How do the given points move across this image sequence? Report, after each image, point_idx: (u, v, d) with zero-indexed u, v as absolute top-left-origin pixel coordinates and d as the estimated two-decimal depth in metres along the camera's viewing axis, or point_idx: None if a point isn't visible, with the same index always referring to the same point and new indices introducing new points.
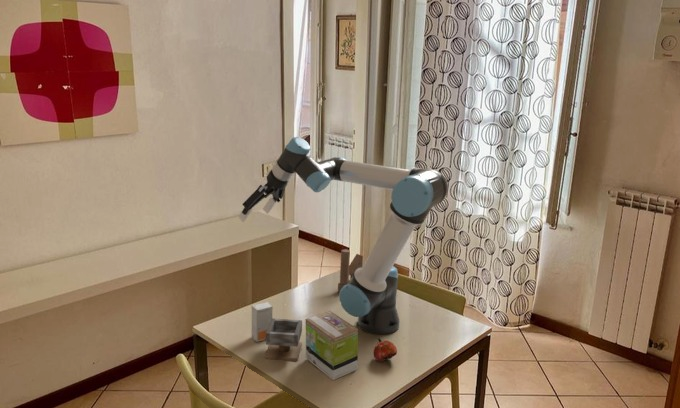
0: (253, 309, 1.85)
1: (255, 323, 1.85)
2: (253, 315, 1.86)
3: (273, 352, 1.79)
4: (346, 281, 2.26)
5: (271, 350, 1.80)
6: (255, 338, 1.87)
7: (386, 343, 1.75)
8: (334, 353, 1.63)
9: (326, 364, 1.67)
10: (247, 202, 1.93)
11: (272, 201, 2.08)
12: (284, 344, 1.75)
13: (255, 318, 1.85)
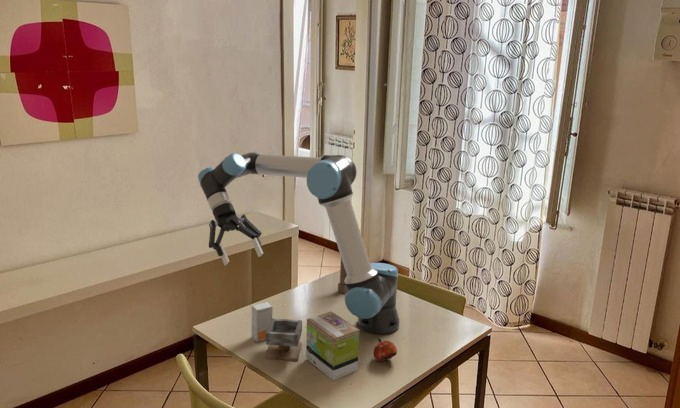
0: (253, 309, 1.85)
1: (255, 323, 1.85)
2: (253, 315, 1.86)
3: (273, 352, 1.79)
4: None
5: (271, 350, 1.80)
6: (255, 338, 1.87)
7: (386, 343, 1.75)
8: (335, 353, 1.64)
9: (326, 364, 1.67)
10: (209, 241, 1.88)
11: (254, 240, 1.96)
12: (284, 344, 1.75)
13: (255, 318, 1.85)
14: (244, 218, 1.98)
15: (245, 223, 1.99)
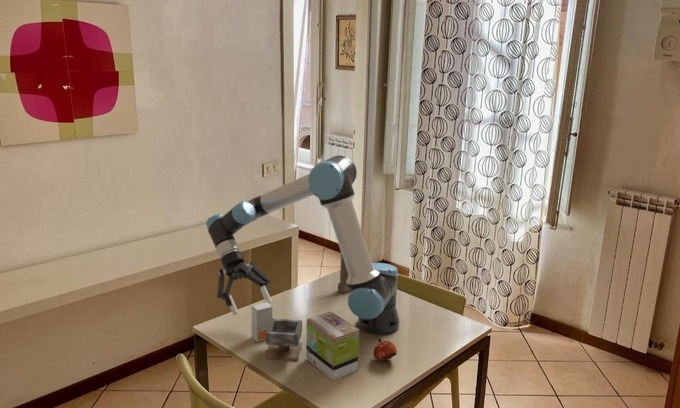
0: (253, 309, 1.85)
1: (255, 323, 1.85)
2: (253, 315, 1.86)
3: (273, 352, 1.79)
4: (346, 281, 2.26)
5: (271, 350, 1.80)
6: (255, 338, 1.87)
7: (386, 343, 1.75)
8: (335, 353, 1.64)
9: (326, 364, 1.67)
10: (218, 291, 1.87)
11: (262, 288, 1.96)
12: (284, 344, 1.75)
13: (255, 318, 1.85)
14: (252, 265, 1.98)
15: (253, 270, 1.98)
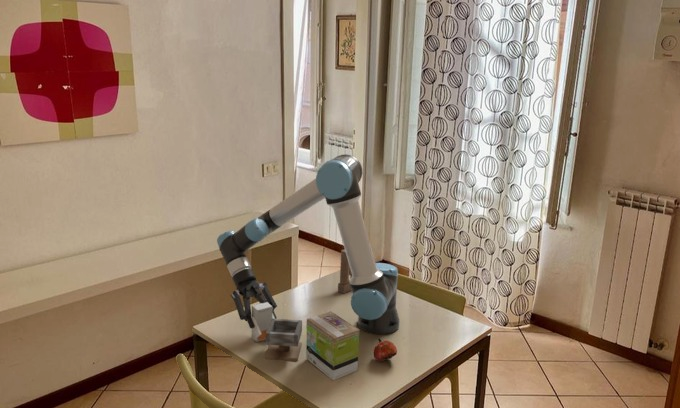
0: (253, 309, 1.85)
1: None
2: (253, 315, 1.86)
3: (273, 352, 1.79)
4: (346, 281, 2.26)
5: (271, 350, 1.80)
6: (255, 338, 1.87)
7: (386, 343, 1.75)
8: (335, 353, 1.64)
9: (326, 364, 1.67)
10: (239, 313, 1.85)
11: None
12: (284, 344, 1.75)
13: (255, 318, 1.85)
14: (264, 286, 1.94)
15: (264, 291, 1.94)
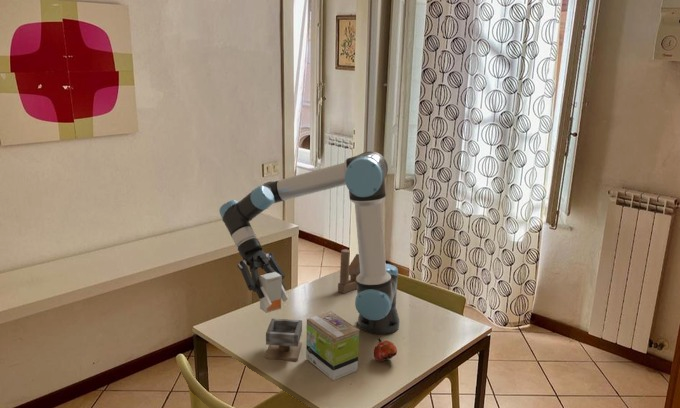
0: (262, 279, 1.78)
1: None
2: (262, 285, 1.79)
3: (273, 352, 1.79)
4: (346, 281, 2.26)
5: (271, 350, 1.80)
6: (264, 309, 1.79)
7: (386, 343, 1.75)
8: (335, 353, 1.64)
9: (326, 364, 1.67)
10: (248, 284, 1.77)
11: None
12: (284, 344, 1.75)
13: (264, 287, 1.77)
14: (271, 256, 1.87)
15: (271, 261, 1.87)
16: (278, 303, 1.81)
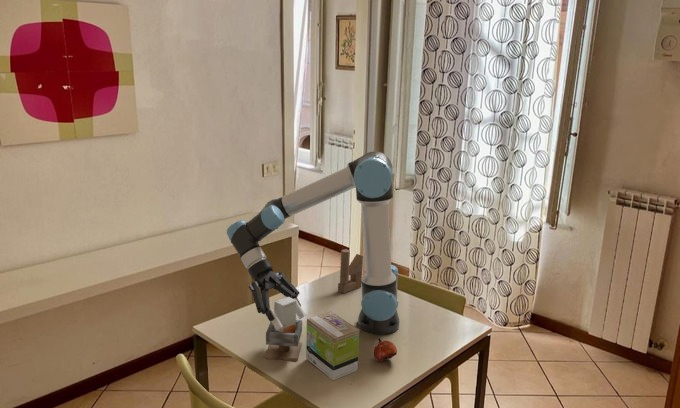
0: (277, 305, 1.75)
1: (280, 320, 1.75)
2: (277, 311, 1.76)
3: (273, 352, 1.79)
4: (346, 281, 2.26)
5: (271, 350, 1.80)
6: None
7: (386, 343, 1.75)
8: (335, 353, 1.64)
9: (326, 364, 1.67)
10: (257, 306, 1.73)
11: None
12: (284, 344, 1.75)
13: (280, 314, 1.75)
14: (282, 275, 1.84)
15: (282, 280, 1.84)
16: (293, 328, 1.79)
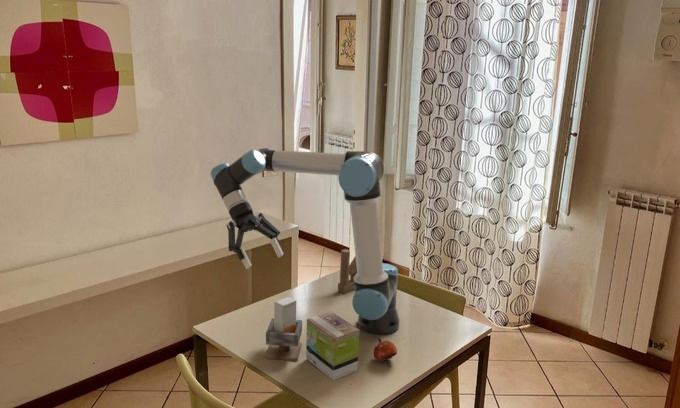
0: (277, 305, 1.75)
1: (280, 320, 1.75)
2: (277, 311, 1.76)
3: (273, 352, 1.79)
4: (346, 281, 2.26)
5: (271, 350, 1.80)
6: None
7: (386, 343, 1.75)
8: (335, 353, 1.64)
9: (326, 364, 1.67)
10: (229, 244, 1.78)
11: (273, 240, 1.88)
12: (284, 344, 1.75)
13: (280, 314, 1.75)
14: (261, 217, 1.89)
15: (262, 222, 1.90)
16: (293, 328, 1.79)
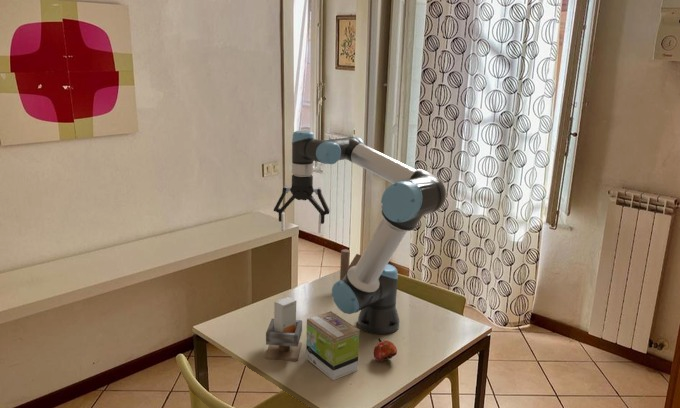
0: (277, 305, 1.75)
1: (280, 320, 1.75)
2: (277, 311, 1.76)
3: (273, 352, 1.79)
4: None
5: (271, 350, 1.80)
6: None
7: (386, 343, 1.75)
8: (335, 353, 1.64)
9: (326, 364, 1.67)
10: None
11: (319, 216, 2.01)
12: (284, 344, 1.75)
13: (280, 314, 1.75)
14: (318, 193, 1.98)
15: None
16: (293, 328, 1.79)
